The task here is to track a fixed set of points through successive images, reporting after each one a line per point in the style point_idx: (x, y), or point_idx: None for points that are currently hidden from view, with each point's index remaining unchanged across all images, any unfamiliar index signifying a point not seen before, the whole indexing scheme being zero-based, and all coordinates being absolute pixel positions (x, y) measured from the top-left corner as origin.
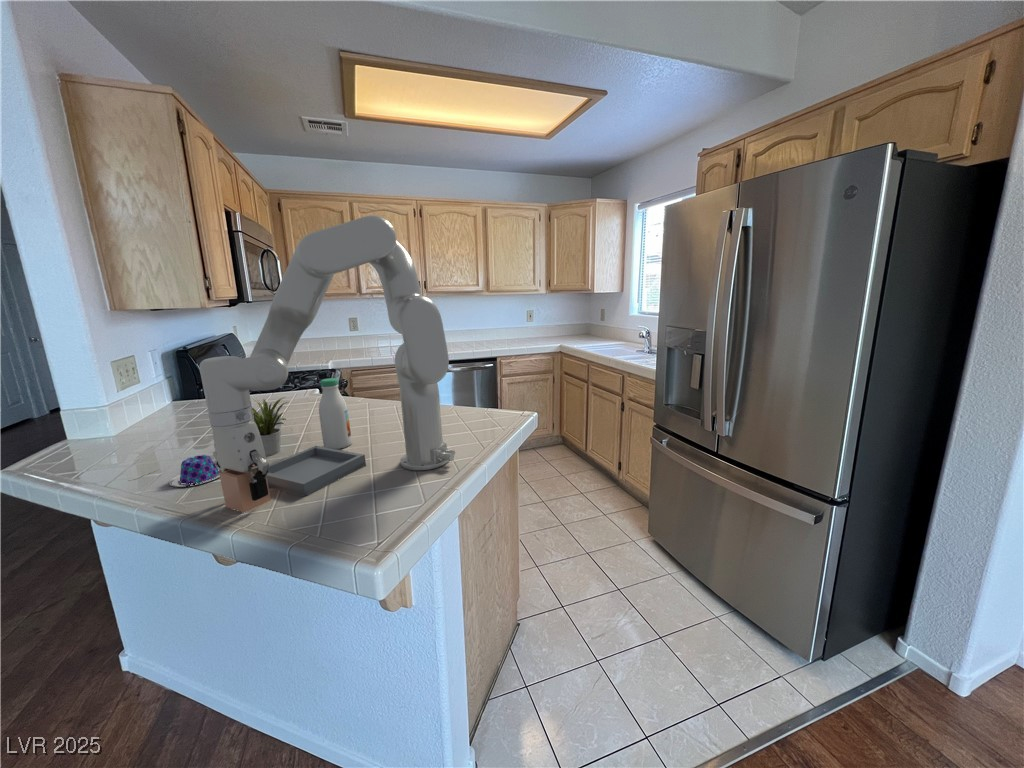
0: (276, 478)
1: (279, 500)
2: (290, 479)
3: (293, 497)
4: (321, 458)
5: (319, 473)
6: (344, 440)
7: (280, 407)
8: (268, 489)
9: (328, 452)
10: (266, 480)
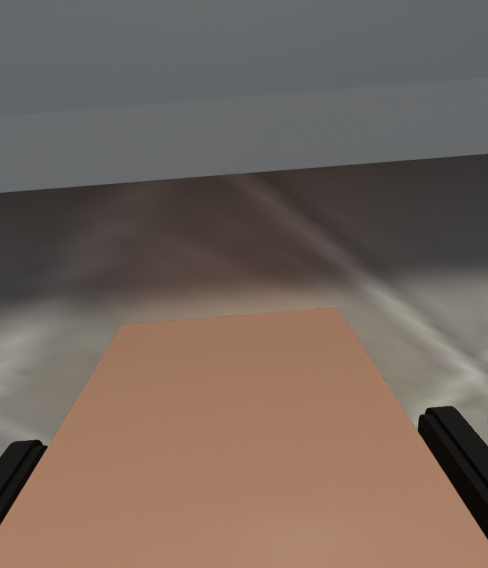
0: (201, 175)
1: (410, 280)
2: (442, 124)
3: (482, 196)
4: None
5: None
6: None
7: None
8: (366, 357)
9: None
10: (410, 429)
